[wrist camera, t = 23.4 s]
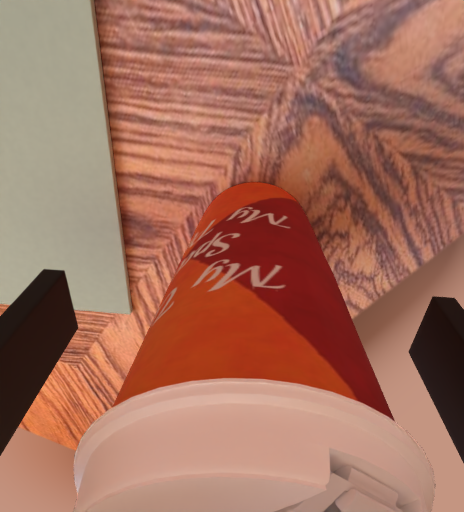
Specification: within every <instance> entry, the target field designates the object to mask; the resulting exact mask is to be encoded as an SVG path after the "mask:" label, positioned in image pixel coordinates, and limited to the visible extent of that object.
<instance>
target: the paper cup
mask: <svg viewBox="0 0 464 512" xmlns="http://www.w3.org/2000/svg"><path fill="white" fill-rule="evenodd" d="M74 480H75V485H76V489H77V493H78V495H77V499H76V504H75V508H74V511H73V512H431V511H432V506H433V501H434V493H435V480H434V473H433V468H432V466H431V464H430V462H429V460H428V458H427V456H426V454H425V452H424V450H423V449H422V447H421V446H420V445H419V444H418V443H417V441H416V440H415V439H414V438H413V437H412V436H411V434H410V433H409V432H407V431H406V430H405V429H404V428H402V427H401V426H400V425H398V424H397V423H396V422H395V421H394V418H393V416H392V414H391V411H390V409H389V407H388V404H387V402H386V400H385V397H384V395H383V392H382V391H381V388H380V385H379V383H378V381H377V378H376V376H375V374H374V371H373V369H372V367H371V364H370V362H369V359H368V357H367V355H366V352H365V350H364V348H363V345H362V343H361V341H360V338H359V336H358V333H357V331H356V328H355V326H354V324H353V321H352V319H351V316H350V314H349V311H348V309H347V306H346V304H345V301H344V299H343V297H342V294H341V292H340V289H339V287H338V284H337V282H336V279H335V277H334V275H333V273H332V271H331V269H330V266H329V264H328V262H327V260H326V258H325V256H324V254H323V251H322V249H321V247H320V245H319V242H318V240H317V238H316V235H315V233H314V231H313V229H312V226H311V224H310V222H309V220H308V218H307V216H306V214H305V212H304V210H303V209H302V207H301V206H300V204H299V203H298V202H297V201H296V199H295V198H294V197H293V196H291V195H290V194H289V193H288V192H286V191H285V190H283V189H281V188H279V187H277V186H274V185H271V184H267V183H261V182H248V183H242V184H238V185H235V186H233V187H231V188H228V189H227V190H225V191H223V192H222V193H221V194H219V195H218V196H217V197H216V198H215V199H214V200H213V201H212V202H211V204H210V205H209V206H208V208H207V210H206V211H205V213H204V215H203V217H202V219H201V221H200V222H199V224H198V226H197V228H196V230H195V232H194V235H193V237H192V239H191V241H190V243H189V245H188V247H187V249H186V251H185V253H184V255H183V258H182V260H181V262H180V264H179V266H178V268H177V270H176V272H175V274H174V277H173V279H172V281H171V283H170V285H169V287H168V289H167V291H166V294H165V296H164V298H163V300H162V302H161V304H160V306H159V309H158V311H157V313H156V315H155V317H154V319H153V321H152V324H151V326H150V328H149V330H148V332H147V334H146V336H145V339H144V341H143V343H142V345H141V347H140V349H139V351H138V354H137V356H136V358H135V360H134V362H133V364H132V366H131V369H130V371H129V373H128V375H127V377H126V379H125V381H124V383H123V386H122V388H121V390H120V392H119V394H118V396H117V398H116V401H115V403H114V405H113V407H112V408H110V409H109V410H108V411H106V412H105V413H104V414H103V415H102V416H100V417H99V418H98V419H97V420H95V421H94V422H93V423H92V424H91V426H90V427H89V428H88V430H87V431H86V432H85V433H84V435H83V436H82V438H81V440H80V442H79V445H78V447H77V450H76V452H75V456H74Z"/></svg>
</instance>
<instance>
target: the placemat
mask: <svg viewBox="0 0 464 512" xmlns="http://www.w3.org/2000/svg"><path fill="white" fill-rule="evenodd" d="M43 269H51V270H65V274H66V278H67V282H68V287H69V291H70V295H71V299H72V304H73V308H74V310H82V311H95V312H107V313H119V314H131V313H132V303H131V295H130V287H129V279H128V271H127V262H126V254H125V246H124V238H123V230H122V222H121V214H120V206H119V198H118V190H117V182H116V174H115V166H114V158H113V150H112V142H111V134H110V126H109V117H108V109H107V101H106V93H105V85H104V77H103V69H102V61H101V53H100V45H99V37H98V29H97V21H96V13H95V5H94V0H0V304H8V305H11V304H12V303H13V302H14V301H15V300H16V299H17V298H18V296H19V295H20V294H21V293H22V292H23V291H24V290H25V289H26V288H27V287H28V285H29V284H30V283H31V282H32V281H33V280H34V279H35V278H36V277H37V276H38V275H39V273H40V272H41V271H42V270H43Z"/></svg>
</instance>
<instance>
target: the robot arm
mask: <svg viewBox="0 0 464 512" xmlns="http://www.w3.org/2000/svg"><path fill="white" fill-rule="evenodd" d="M77 329H78V325H77V321H76V316H75V312H74V308H73V304H72V299H71V295H70V291H69V287H68V282H67V278H66V274H65V270H51V269H43V270H42V271H41V272H40V273H39V275H38V276H37V277H36V278H35V279H34V280H33V281H32V282H31V283H30V284H29V285H28V287H27V288H26V289H25V290H24V291H23V292H22V293H21V294H20V295H19V296H18V298H17V299H16V300H15V301H14V302H13V303H12V304H11V305H10V306H9V307H8V308H7V310H6V311H5V312H4V313H3V314H2V315H1V316H0V456H1V454H2V452H3V451H4V449H5V447H6V446H7V444H8V442H9V441H10V439H11V437H12V436H13V434H14V433H15V431H16V429H17V428H18V426H19V424H20V423H21V421H22V419H23V418H24V416H25V414H26V413H27V411H28V409H29V408H30V406H31V405H32V403H33V401H34V400H35V398H36V396H37V395H38V393H39V391H40V390H41V388H42V386H43V385H44V383H45V381H46V380H47V378H48V377H49V375H50V373H51V372H52V370H53V368H54V367H55V365H56V363H57V362H58V360H59V358H60V357H61V355H62V354H63V352H64V350H65V349H66V347H67V345H68V344H69V342H70V340H71V339H72V337H73V335H74V334H75V332H76V330H77ZM409 354H410V356H411V358H412V360H413V362H414V364H415V366H416V368H417V370H418V372H419V374H420V376H421V378H422V380H423V382H424V384H425V386H426V388H427V390H428V392H429V394H430V396H431V398H432V400H433V402H434V404H435V406H436V408H437V410H438V412H439V414H440V417H441V419H442V420H443V423H444V424H445V426H446V429H447V431H448V433H449V435H450V437H451V439H452V440H453V443H454V445H455V447H456V449H457V451H458V453H459V455H460V457H461V459H462V461H463V463H464V309H463V308H462V307H461V306H460V304H459V303H458V302H457V300H456V299H455V298H447V297H432V299H431V302H430V304H429V306H428V308H427V311H426V313H425V315H424V318H423V320H422V322H421V325H420V327H419V329H418V331H417V334H416V336H415V338H414V341H413V343H412V345H411V348H410V350H409Z"/></svg>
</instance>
